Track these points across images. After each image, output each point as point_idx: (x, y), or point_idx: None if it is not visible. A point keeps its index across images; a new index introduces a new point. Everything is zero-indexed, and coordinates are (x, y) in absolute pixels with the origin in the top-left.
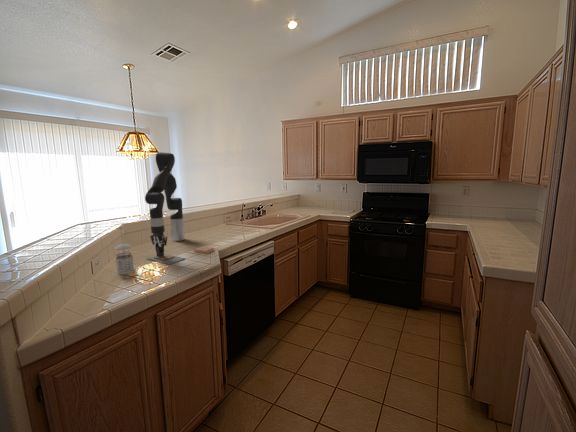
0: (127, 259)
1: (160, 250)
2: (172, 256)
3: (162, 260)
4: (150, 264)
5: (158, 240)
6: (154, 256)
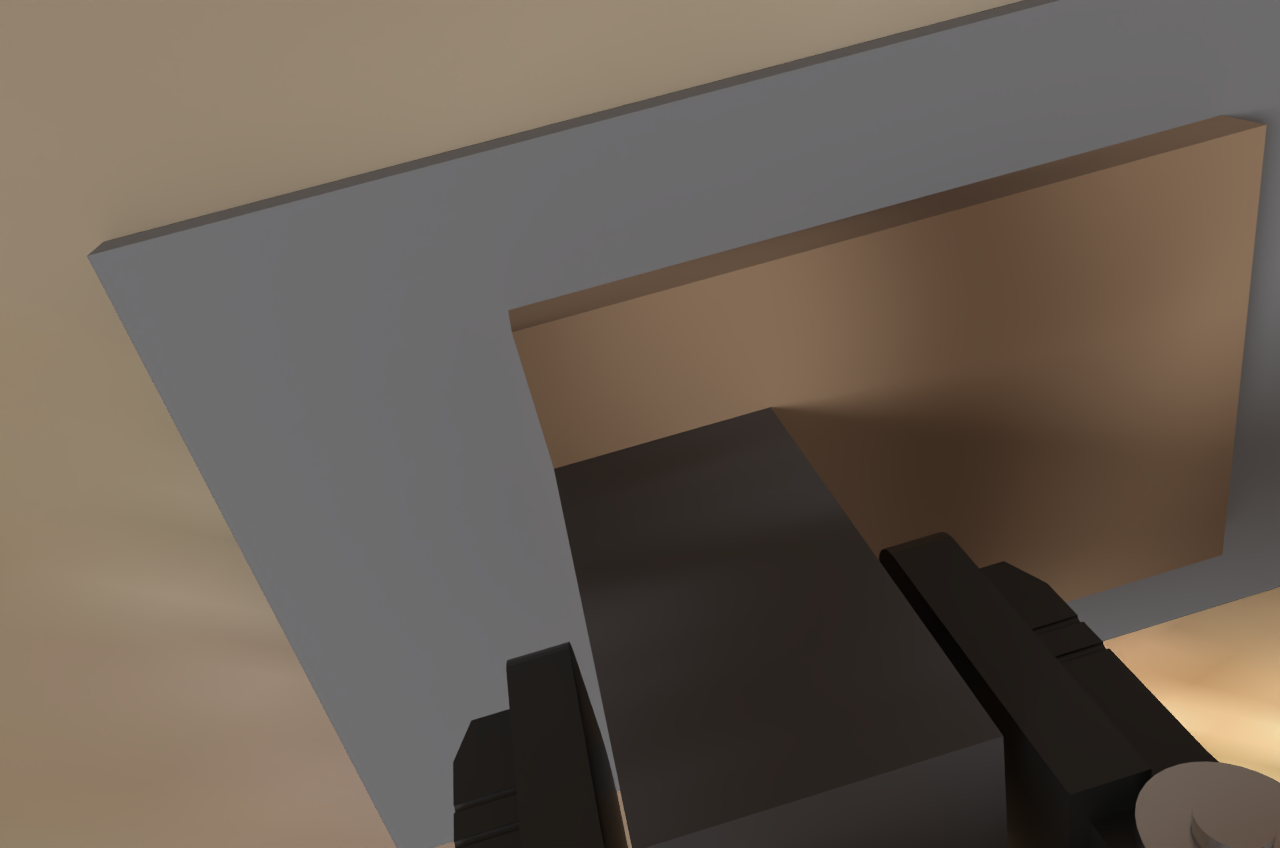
0: None
1: None
2: (1211, 191)
3: None
4: None
5: None
6: (367, 633)
